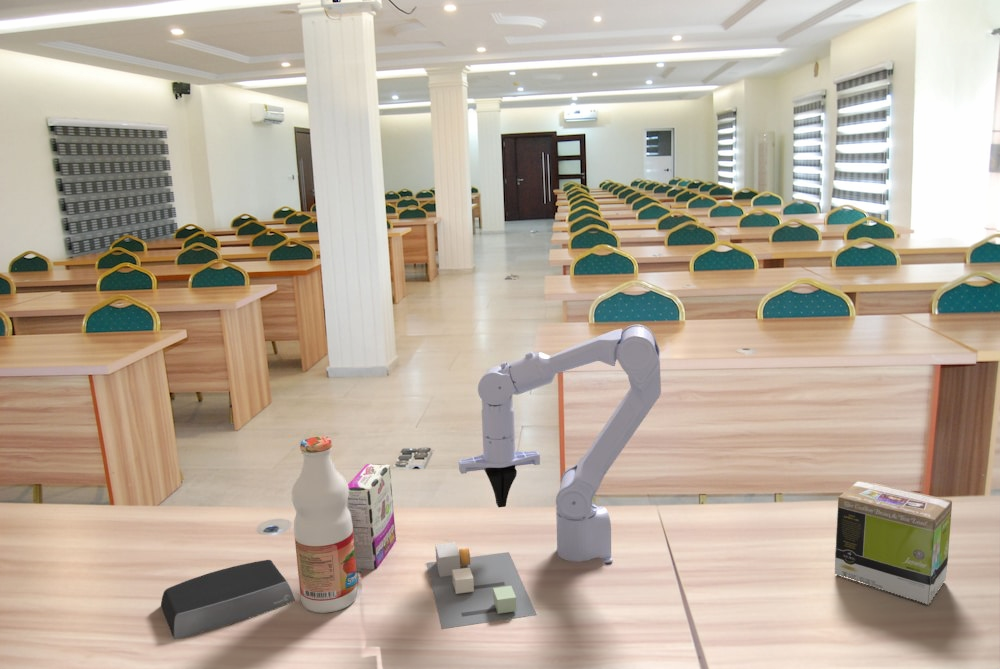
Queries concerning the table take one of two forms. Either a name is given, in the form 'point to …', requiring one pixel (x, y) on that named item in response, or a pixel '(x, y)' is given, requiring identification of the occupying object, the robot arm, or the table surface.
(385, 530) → the candy bar box
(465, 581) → the off-white slider
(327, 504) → the fruit juice
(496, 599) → the sage slider
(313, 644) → the table surface
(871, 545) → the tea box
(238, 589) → the external hard drive
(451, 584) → the control panel
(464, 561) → the orange button
